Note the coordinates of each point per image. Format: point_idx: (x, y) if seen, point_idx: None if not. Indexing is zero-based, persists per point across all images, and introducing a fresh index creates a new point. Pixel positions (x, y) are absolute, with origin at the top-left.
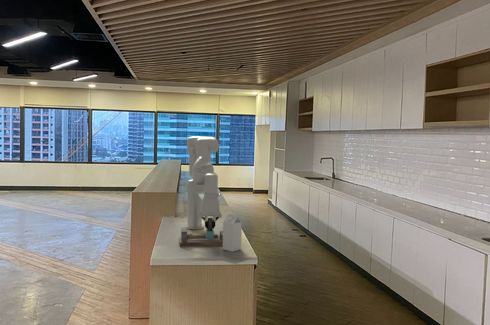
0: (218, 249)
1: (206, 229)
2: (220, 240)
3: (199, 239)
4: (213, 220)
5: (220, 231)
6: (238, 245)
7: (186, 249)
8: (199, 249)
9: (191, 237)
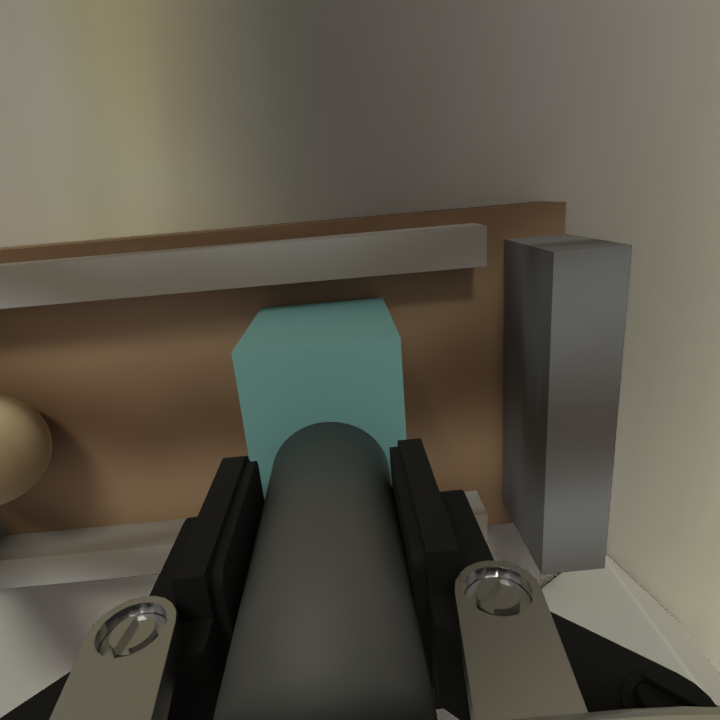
0: None
1: (247, 380)
2: (495, 427)
3: None
4: (448, 710)
5: (558, 322)
6: None
7: (72, 650)
8: None
9: (23, 492)
